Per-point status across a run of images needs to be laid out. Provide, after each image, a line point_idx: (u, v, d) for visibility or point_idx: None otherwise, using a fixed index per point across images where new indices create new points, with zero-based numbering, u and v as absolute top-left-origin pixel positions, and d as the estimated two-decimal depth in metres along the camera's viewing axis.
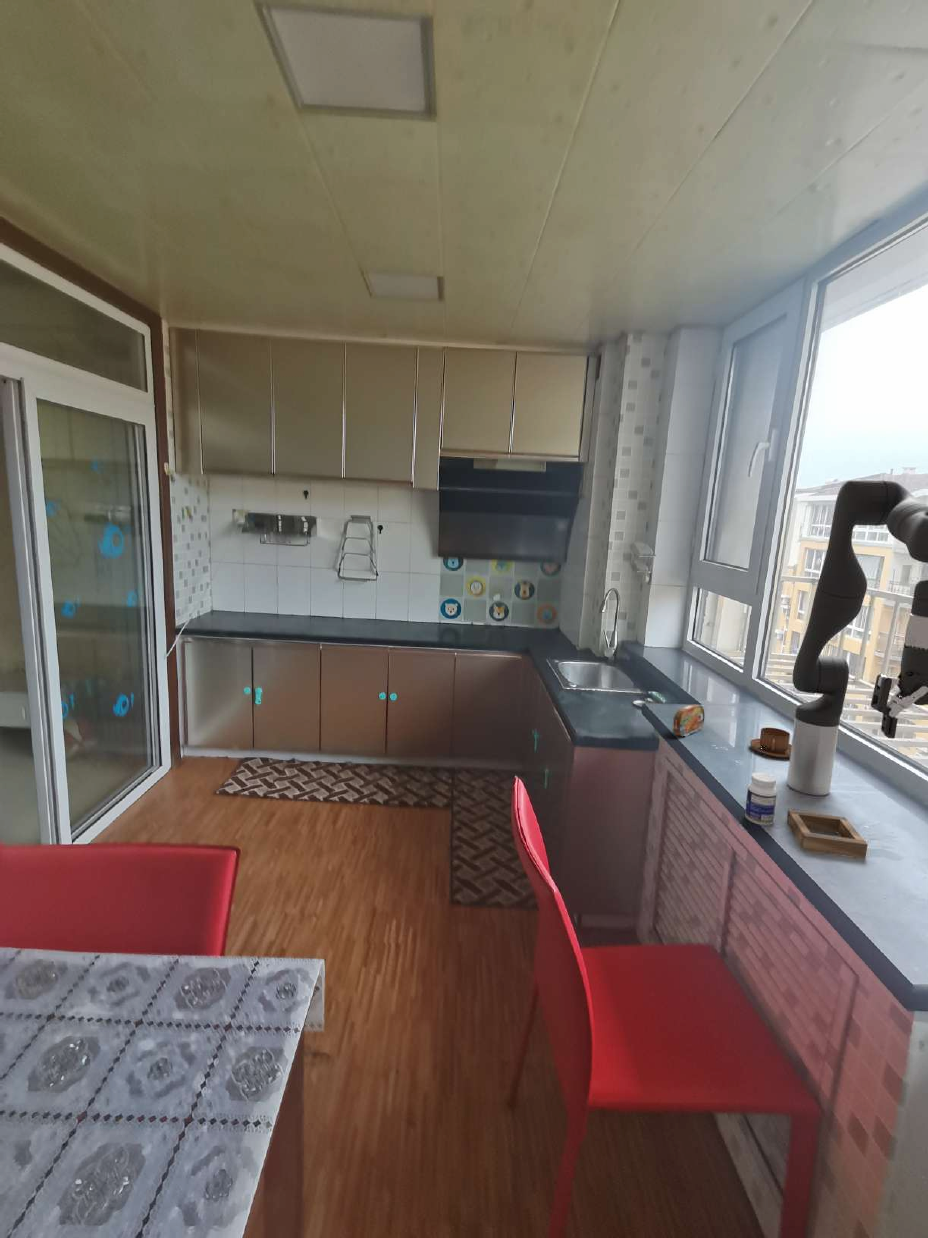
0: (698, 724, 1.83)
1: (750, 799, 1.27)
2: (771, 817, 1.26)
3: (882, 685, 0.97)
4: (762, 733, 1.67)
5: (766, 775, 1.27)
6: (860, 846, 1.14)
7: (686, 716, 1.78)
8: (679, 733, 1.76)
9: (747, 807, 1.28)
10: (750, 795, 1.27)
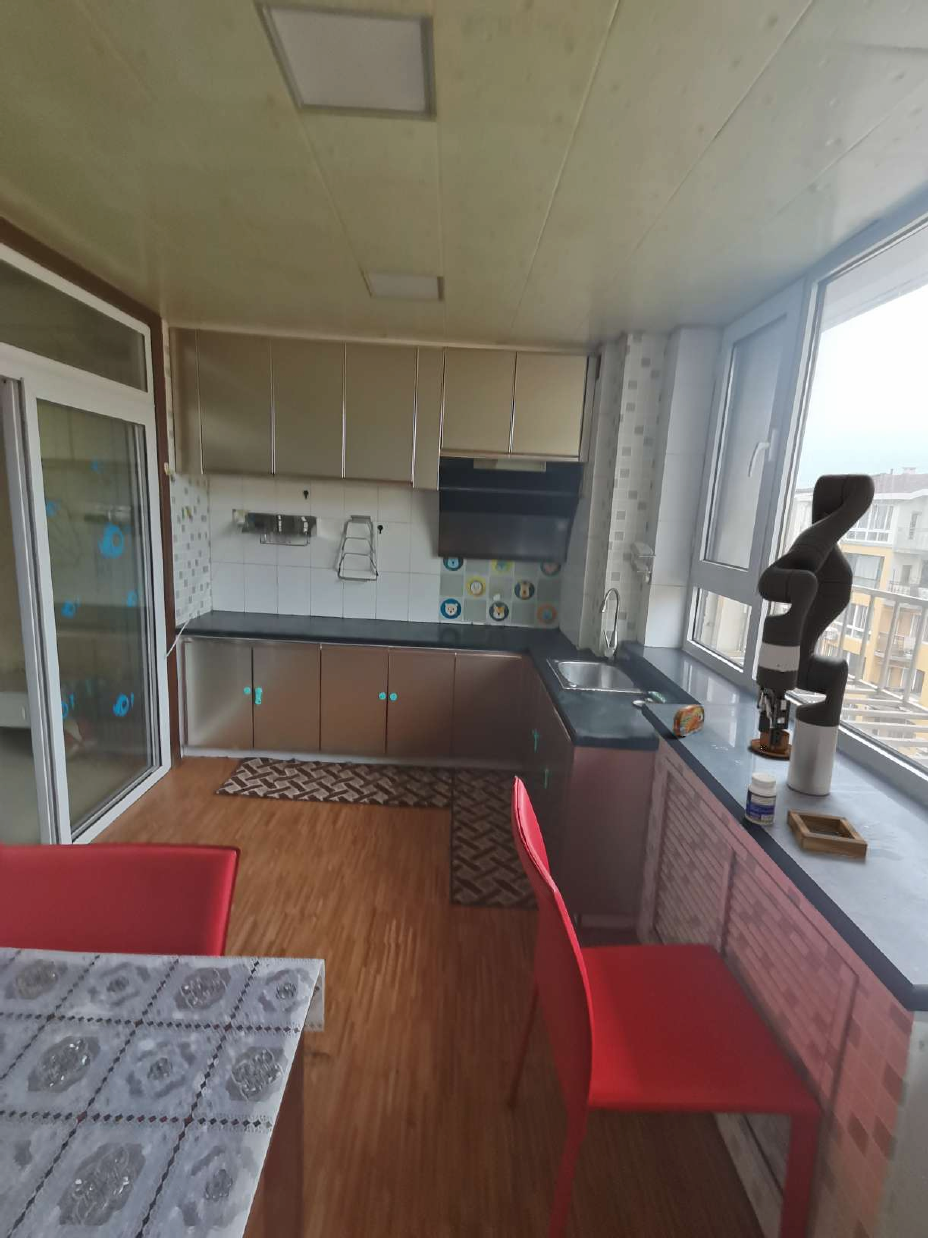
0: (698, 724, 1.83)
1: (750, 799, 1.27)
2: (771, 817, 1.26)
3: (789, 708, 1.17)
4: (762, 733, 1.67)
5: (766, 775, 1.27)
6: (860, 846, 1.14)
7: (686, 716, 1.77)
8: (679, 733, 1.76)
9: (747, 807, 1.28)
10: (750, 795, 1.27)
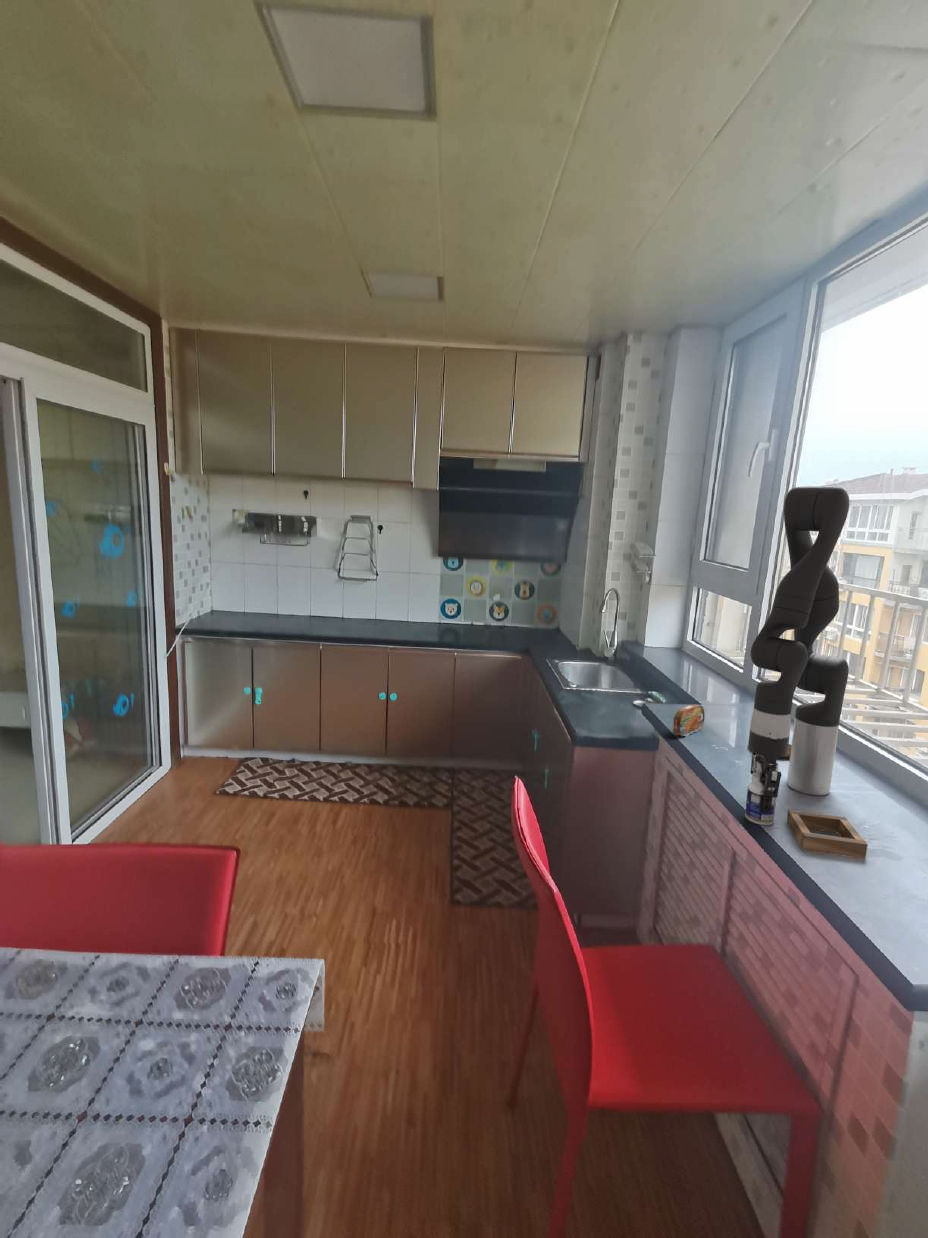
0: (698, 724, 1.83)
1: (750, 799, 1.27)
2: (771, 817, 1.26)
3: (779, 779, 1.20)
4: None
5: None
6: (860, 846, 1.14)
7: (686, 716, 1.78)
8: (679, 733, 1.76)
9: (747, 807, 1.28)
10: (750, 794, 1.27)
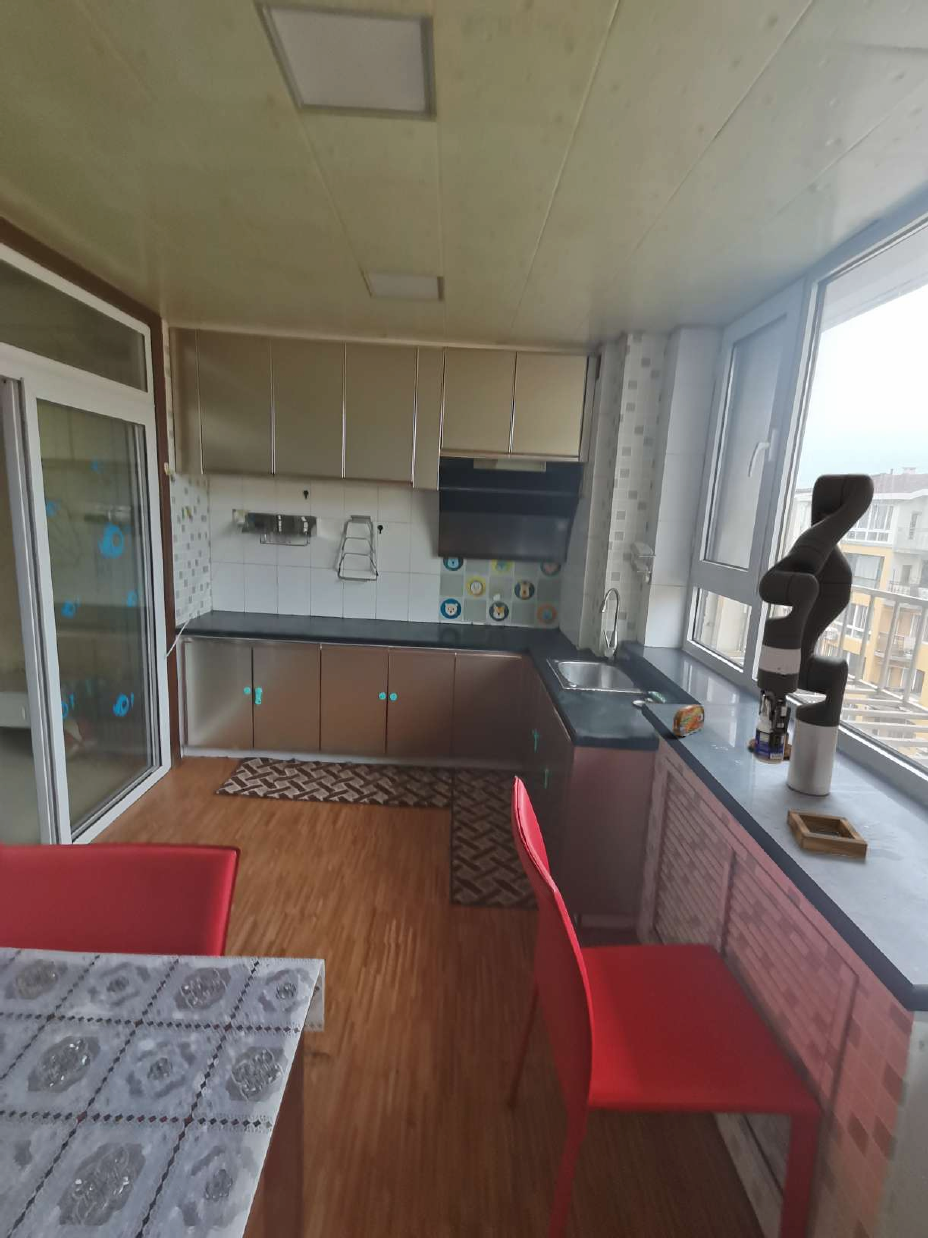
0: (698, 724, 1.83)
1: (758, 738, 1.25)
2: (780, 756, 1.23)
3: (789, 714, 1.18)
4: None
5: None
6: (860, 846, 1.14)
7: (686, 716, 1.78)
8: (679, 733, 1.76)
9: (756, 747, 1.26)
10: (759, 734, 1.25)
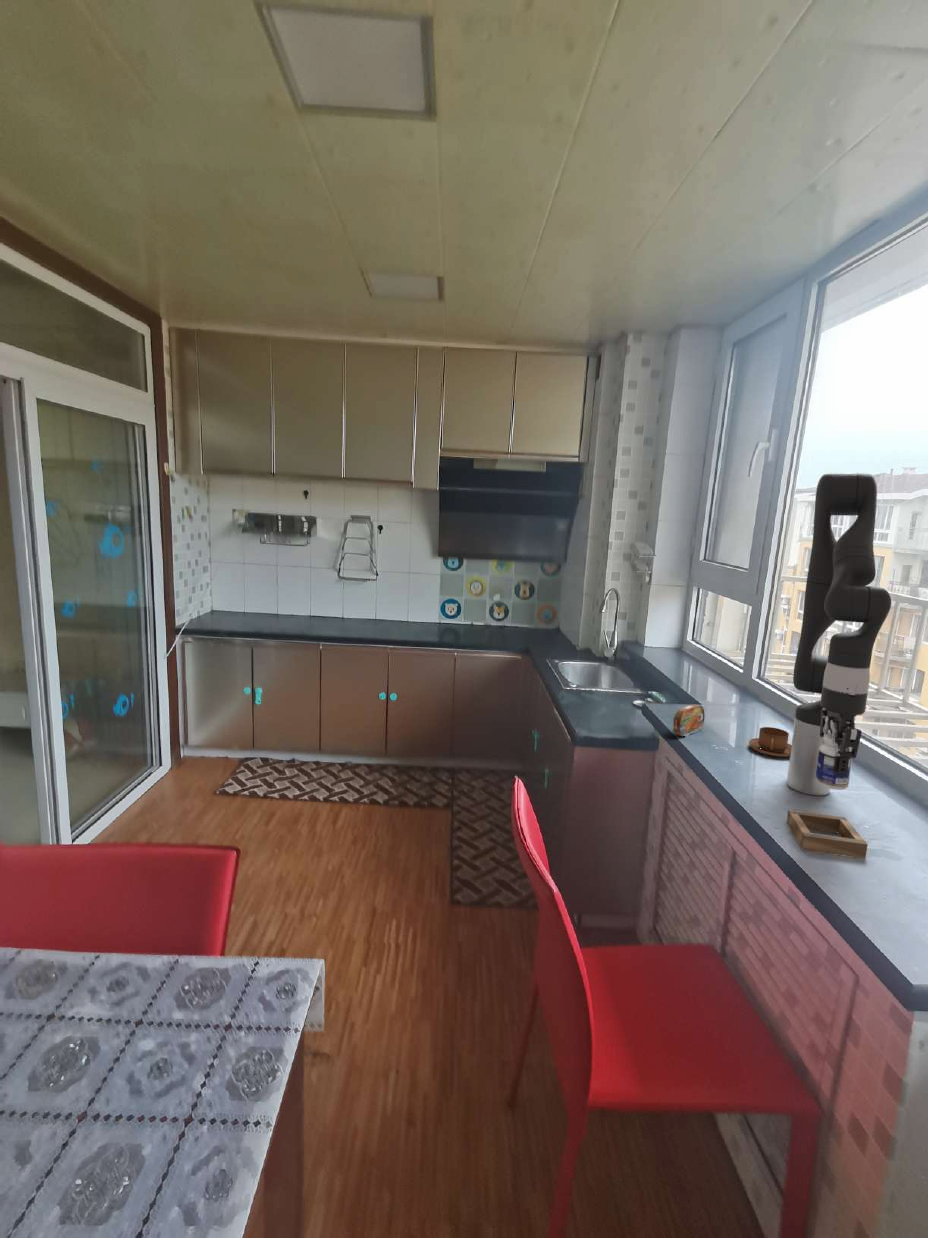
0: (698, 724, 1.83)
1: (822, 761, 1.17)
2: (846, 781, 1.16)
3: (859, 738, 1.10)
4: (761, 733, 1.67)
5: None
6: (860, 846, 1.14)
7: (686, 716, 1.78)
8: (679, 733, 1.76)
9: (819, 771, 1.19)
10: (822, 757, 1.17)
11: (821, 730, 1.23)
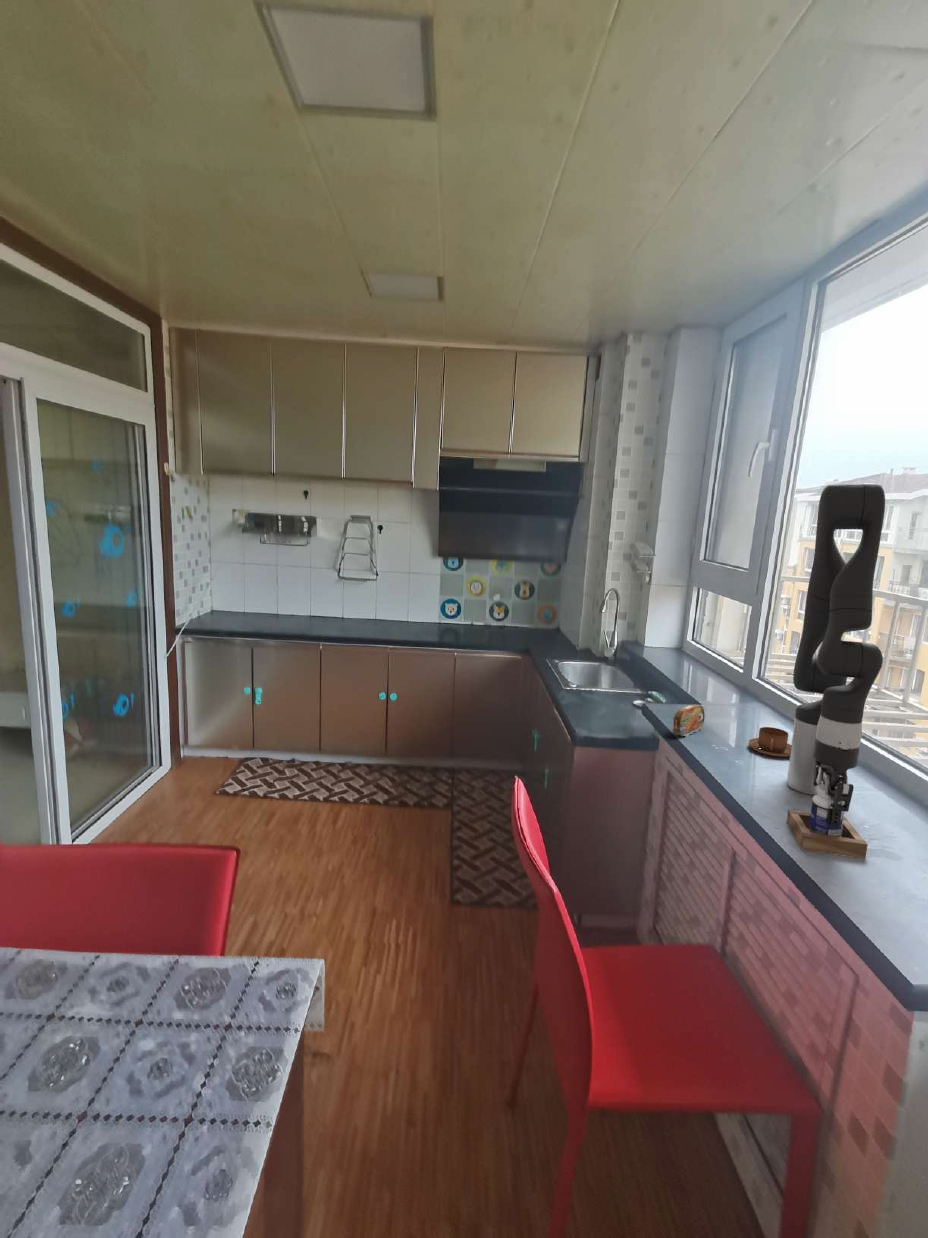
0: (698, 724, 1.83)
1: (815, 813, 1.19)
2: (839, 832, 1.18)
3: (851, 792, 1.12)
4: (760, 733, 1.67)
5: None
6: (860, 846, 1.14)
7: (686, 716, 1.78)
8: (679, 733, 1.76)
9: (812, 821, 1.20)
10: (816, 808, 1.19)
11: (814, 779, 1.25)
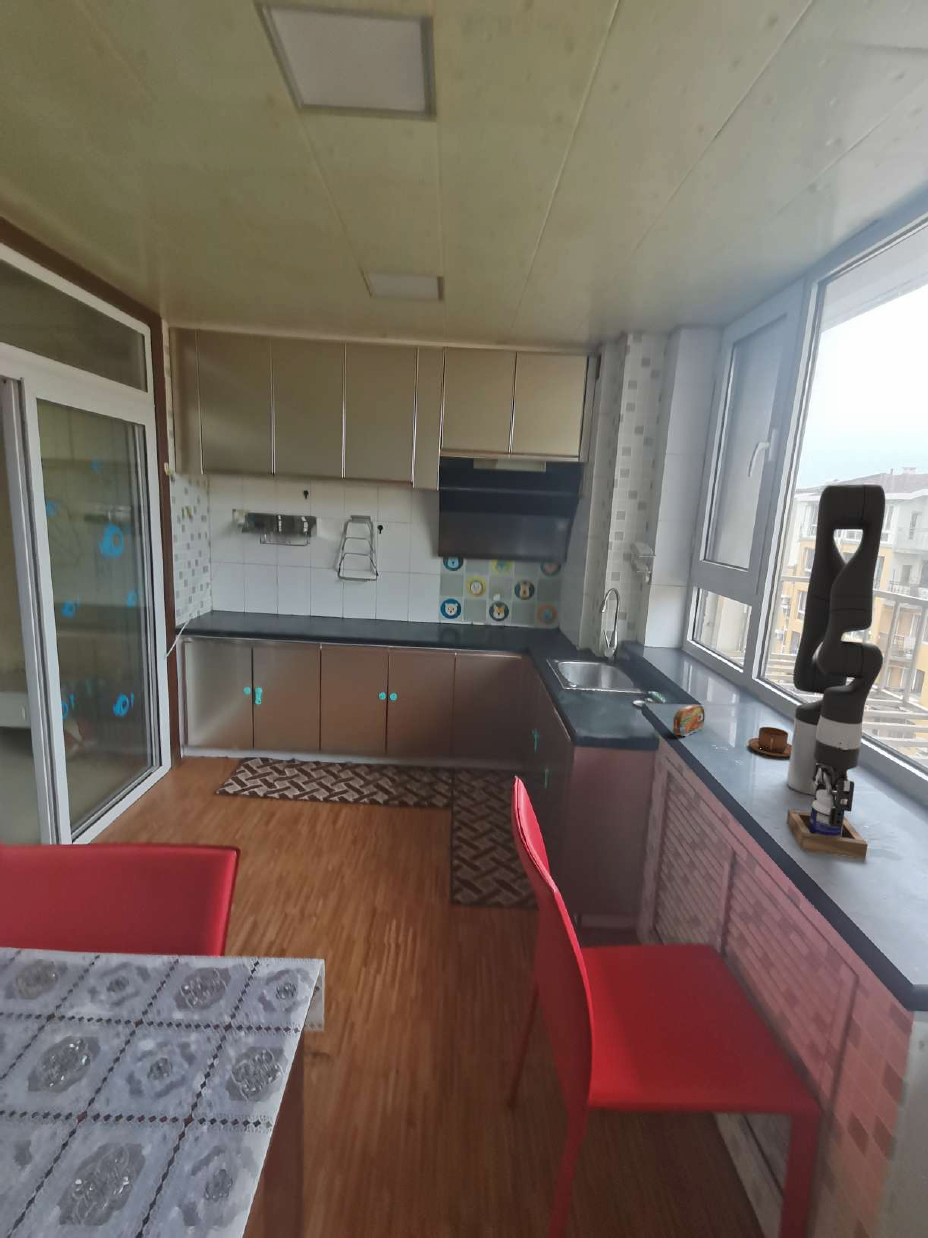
0: (698, 724, 1.83)
1: (815, 818, 1.19)
2: None
3: (853, 789, 1.12)
4: (760, 732, 1.67)
5: None
6: (860, 846, 1.14)
7: (686, 716, 1.77)
8: (679, 733, 1.76)
9: (811, 827, 1.20)
10: (815, 814, 1.19)
11: (813, 775, 1.25)
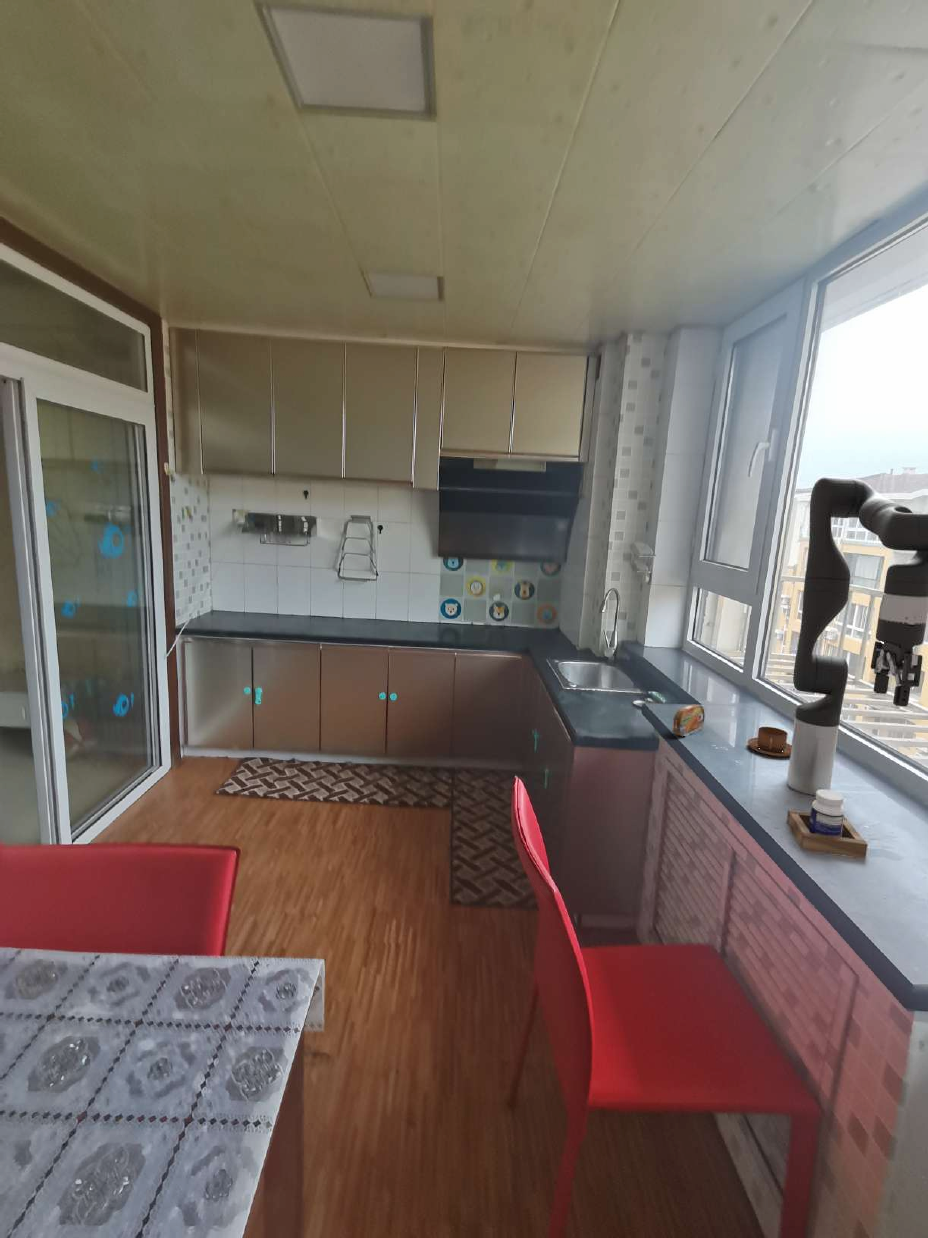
0: (698, 724, 1.83)
1: (815, 818, 1.19)
2: None
3: (921, 663, 1.08)
4: (760, 732, 1.67)
5: (832, 793, 1.20)
6: (860, 846, 1.14)
7: (686, 716, 1.77)
8: (679, 733, 1.76)
9: (811, 827, 1.20)
10: (815, 814, 1.19)
11: (873, 662, 1.22)
